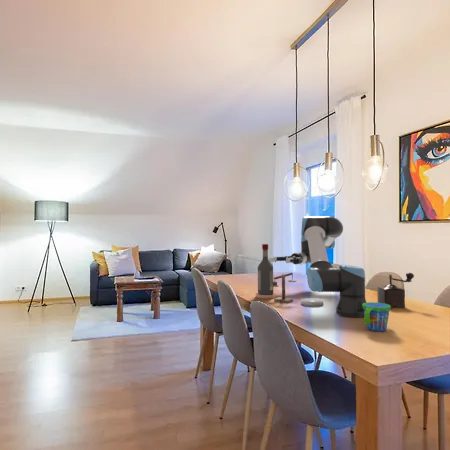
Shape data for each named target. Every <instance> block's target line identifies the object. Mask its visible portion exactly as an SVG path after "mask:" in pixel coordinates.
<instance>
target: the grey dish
mask: <svg viewBox="0 0 450 450" xmlns="http://www.w3.org/2000/svg"><path fill="white" fill-rule="evenodd" d="M324 302H325V301H324V300H323V299H321V298H313V297H311V298H308V297H307V298H302V299H301V300H300V303H301V304H300V305H301V306H304V307H310V308H311V307H312V308H314V307H315V308H316V307H317V308H318V307H324V305H325V304H324Z"/></svg>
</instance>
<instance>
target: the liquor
mask: <svg viewBox="0 0 450 450" xmlns="http://www.w3.org/2000/svg"><path fill="white" fill-rule="evenodd" d="M261 249H262V259H261V262H260V263H259V264H258V266H257V293H258V294H259V295H273V293H274V287H271V285H273V282H274V265H273V263H272V262H270V261H269V251H268V250H269V244H268V243H264V244H263V243H262V244H261Z"/></svg>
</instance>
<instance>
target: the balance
mask: <svg viewBox="0 0 450 450" xmlns="http://www.w3.org/2000/svg"><path fill="white" fill-rule="evenodd" d="M289 276H291V279H288V280H287V281H288V283H296V282H297V280H296V279H293V278H294V277H293V276H294V273H293V272H289V273H282V274H281V275H278V276H273V285H271V287H273V288H278V287H279V286H280V285H279V284H278V281H276V280H278V279H281V297H280V296H279V297H276V298H273V302H277V303H283V304H284V303H285V304H290V303H292V302H294V298H289V297H286V277H289Z"/></svg>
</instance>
